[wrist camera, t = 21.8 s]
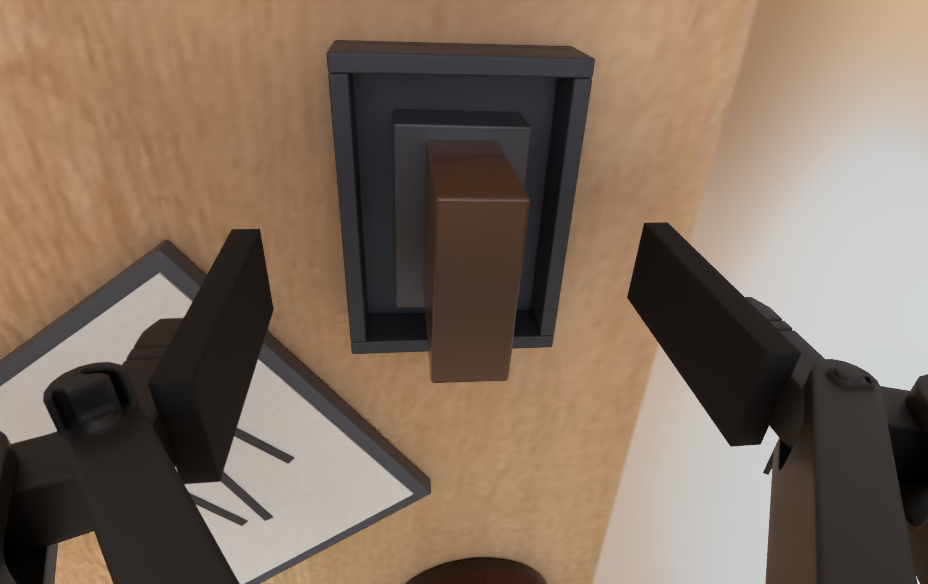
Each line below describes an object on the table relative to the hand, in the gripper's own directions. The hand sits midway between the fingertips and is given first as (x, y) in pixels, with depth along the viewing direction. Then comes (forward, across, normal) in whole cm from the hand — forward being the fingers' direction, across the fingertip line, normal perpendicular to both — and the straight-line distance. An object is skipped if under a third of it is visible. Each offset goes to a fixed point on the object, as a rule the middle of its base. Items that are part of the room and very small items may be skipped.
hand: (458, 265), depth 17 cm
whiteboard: (+6, -11, -13) cm, 18 cm away
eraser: (+5, 0, 0) cm, 5 cm away
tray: (+6, 0, 0) cm, 6 cm away
